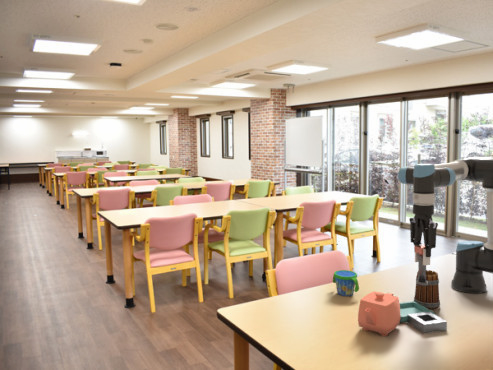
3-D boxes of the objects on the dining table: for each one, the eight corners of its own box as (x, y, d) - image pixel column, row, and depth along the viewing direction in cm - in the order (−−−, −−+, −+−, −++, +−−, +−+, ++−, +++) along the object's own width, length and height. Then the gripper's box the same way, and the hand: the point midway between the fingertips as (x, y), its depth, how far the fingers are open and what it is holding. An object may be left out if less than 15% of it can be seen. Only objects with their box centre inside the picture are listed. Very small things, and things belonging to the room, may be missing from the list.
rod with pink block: (413, 282, 163) (414, 245, 162) (423, 281, 164) (423, 244, 163) (420, 286, 159) (421, 248, 157) (430, 285, 160) (431, 247, 159)
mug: (442, 311, 174) (443, 276, 172) (416, 309, 176) (417, 275, 175) (433, 298, 189) (434, 266, 188) (409, 296, 191) (410, 265, 190)
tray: (413, 306, 179) (413, 301, 179) (434, 318, 167) (434, 312, 166) (381, 310, 175) (381, 305, 175) (399, 323, 163) (399, 317, 163)
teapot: (382, 345, 145) (382, 306, 144) (349, 334, 154) (350, 297, 153) (406, 324, 162) (406, 289, 160) (375, 316, 170) (375, 282, 169)
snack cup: (365, 297, 191) (365, 276, 190) (346, 301, 187) (346, 279, 186) (344, 287, 205) (344, 267, 204) (326, 290, 201) (326, 270, 200)
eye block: (428, 319, 166) (429, 311, 165) (446, 330, 156) (446, 321, 156) (407, 322, 163) (407, 314, 163) (423, 333, 153) (424, 324, 153)
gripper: (401, 201, 166) (400, 258, 168) (430, 207, 149) (429, 270, 152) (416, 200, 168) (416, 256, 170) (447, 206, 151) (446, 268, 154)
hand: (422, 263), depth 161 cm, fingers closed on rod with pink block, 4 cm apart
